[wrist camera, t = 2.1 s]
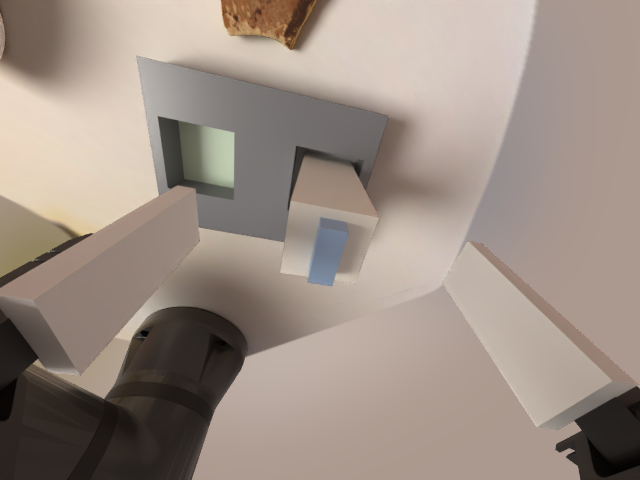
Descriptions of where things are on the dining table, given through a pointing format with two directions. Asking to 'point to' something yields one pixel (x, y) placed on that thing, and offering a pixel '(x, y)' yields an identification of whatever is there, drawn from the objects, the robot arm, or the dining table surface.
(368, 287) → the dining table surface
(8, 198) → the dining table surface
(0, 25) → the mug
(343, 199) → the plug
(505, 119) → the dining table surface
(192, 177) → the panel
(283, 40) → the shard
